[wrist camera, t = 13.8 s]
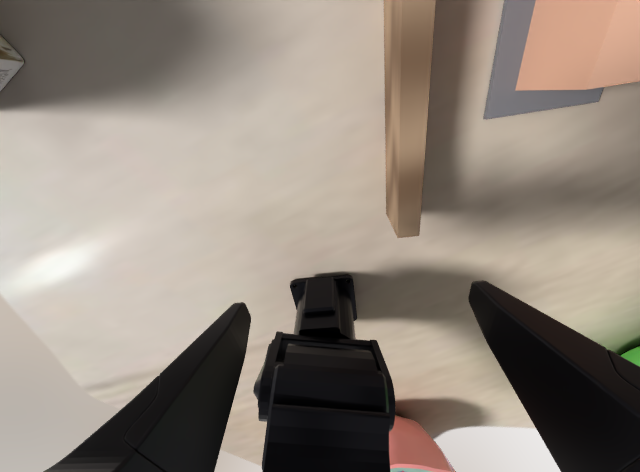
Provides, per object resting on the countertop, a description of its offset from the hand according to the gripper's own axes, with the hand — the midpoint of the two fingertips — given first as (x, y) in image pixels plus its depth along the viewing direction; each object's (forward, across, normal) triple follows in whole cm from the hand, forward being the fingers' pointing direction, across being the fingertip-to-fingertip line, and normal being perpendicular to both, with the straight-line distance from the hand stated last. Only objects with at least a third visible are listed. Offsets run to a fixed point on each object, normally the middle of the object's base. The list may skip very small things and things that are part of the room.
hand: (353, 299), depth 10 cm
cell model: (+12, -2, +42) cm, 44 cm away
